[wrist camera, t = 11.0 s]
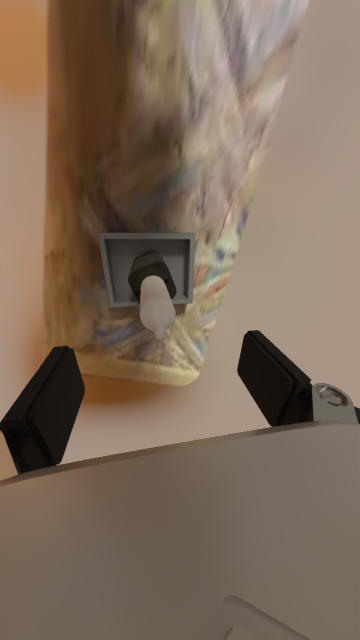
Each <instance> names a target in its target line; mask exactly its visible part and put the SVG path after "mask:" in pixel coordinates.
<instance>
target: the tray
mask: <svg viewBox="0 0 360 640" xmlns="http://www.w3.org/2000/svg"><path fill="white" fill-rule="evenodd" d="M98 239H99V245H100V251H101V257H102V263H103V269H104V275H105V281H106V287H107V293H108V299H109V305H110V307H129V306H140V304H139V303H138V301H137V299H136V297H135V295H134V293H133V291H132V289H131V287H130V285H129V283H128V276H129V273H130V269H131V266H132V263H133V260H134V259H135V258H136V257H138V256H140V255H142V254H145V253H147V252H149V251H152V250H155V251H157V252H158V253H159V254H160V256H161V257H162V259H163V260H164V262H165V264H166V265H167V267H168V269H169V272H170V274H171V277H172V279H173V282H174V284H175V287H176V290H177V293H176V295H175V297H174V298H173V299H171V301H172V303H173V304H185V303H192V300H193V277H194V254H195V234H194V233H140V232H101V233H98Z"/></svg>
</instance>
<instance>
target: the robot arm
mask: <svg viewBox="0 0 360 640" xmlns="http://www.w3.org/2000/svg"><path fill="white" fill-rule="evenodd" d="M237 371H238V375H239V376H240V378H241V380H242V381H243V383H244V384H245V386H246V388H247V389H248V391H249V393H250V394H251V396H252V397H253V399H254V400H255V402H256V404H257V405H258V407H259V409H260V410H261V411H262V413H263V415H264V417H265V418H266V419H267V421H268V423H269V424H270V425H271V426H272V427H270V428H264V429H258V430H252V431H246V432H240V433H234V434H228V435H223V436H217V437H211V438H205V439H200V440H194V441H188V442H182V443H176V444H171V445H165V446H159V447H153V448H148V449H142V450H137V451H131V452H126V453H120V454H115V455H110V456H103V457H98V458H92V459H87V460H82V461H77V462H72V463H67V464H62V465H57V464H59V463H60V462H61V461H62V458H63V455H64V452H65V449H66V446H67V443H68V440H69V437H70V434H71V431H72V428H73V426H74V422H75V420H76V417H77V414H78V410H79V408H80V405H81V402H82V399H83V396H84V392H85V387H84V383H83V380H82V377H81V373H80V370H79V367H78V363H77V360H76V357H75V353H74V350H73V349H72V348H69V347H68V346H59V347H54V348H53V349H52V351H51V352H50V354H49V355H48V356H47V358H46V359H45V361H44V362H43V363H42V365H41V366H40V368H39V369H38V371H37V372H36V373H35V375H34V376H33V377H32V379H31V380H30V381H29V383H28V384H27V386H26V387H25V389H24V390H23V391H22V392H21V394H20V395H19V397H18V398H17V400H16V401H15V402H14V404H13V405H12V407H11V408H10V410H9V411H8V412H7V414H6V415H5V416H4V418H3V419H2V421H1V422H0V640H360V409H359V408H356V407H354V406H353V402H352V401H351V399H350V398H349V396H348V395H347V394H345V393H344V392H343V391H342V390H340V389H338V388H336V387H334V386H332V385H329V384H325V383H317V384H315V385H312V384H311V383H310V381H311V379H310V378H309V377H308V376H307V375H306V374H305V373H304V372H302V371H301V370H300V369H299V368H298V367H297V366H296V365H295V364H294V363H293V362H292V361H291V360H290V359H289V358H288V357H287V356H285V355H284V354H283V353H282V352H281V351H280V350H279V349H278V348H277V347H276V346H275V345H274V344H273V343H272V342H271V341H270V340H268V339H267V338H266V337H265V336H264V335H263V334H262V333H261V332H260V331H258V330H255V331H248V332H247V334H245V335H244V339H243V344H242V349H241V353H240V358H239V364H238V368H237ZM56 465H57V466H56Z"/></svg>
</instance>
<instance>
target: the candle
mask: <svg viewBox="0 0 360 640" xmlns="http://www.w3.org/2000/svg"><path fill="white" fill-rule="evenodd" d="M128 283H129V285H130V287H131V289H132V291H133V293H134V295H135V297H136V299H137V301H138V303H139V304H140V320H141V322H142V324H143V325H144V326H145V327H146V328H147V329H149V330H151V331H154V332H155V337H156V339H158V340H164V339H166V337H167V331H166V329H167V328H169V327H170V326H171V325H172V324H173V322H174V320H175V309H174V306H173V303H172V301H171V299H173V298H174V297H175V295H176V293H177V290H176V287H175V284H174V282H173V279H172V277H171V274H170V272H169V269H168V267H167V265H166V264H165V262H164V260H163V259H162V257H161V256H160V254H159V253H158V252H157V251H155V250H152V251H149V252H147V253H145V254H142V255H140V256H138V257H136V258H135V259H134V260H133V263H132V266H131V269H130V273H129V276H128Z"/></svg>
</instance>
